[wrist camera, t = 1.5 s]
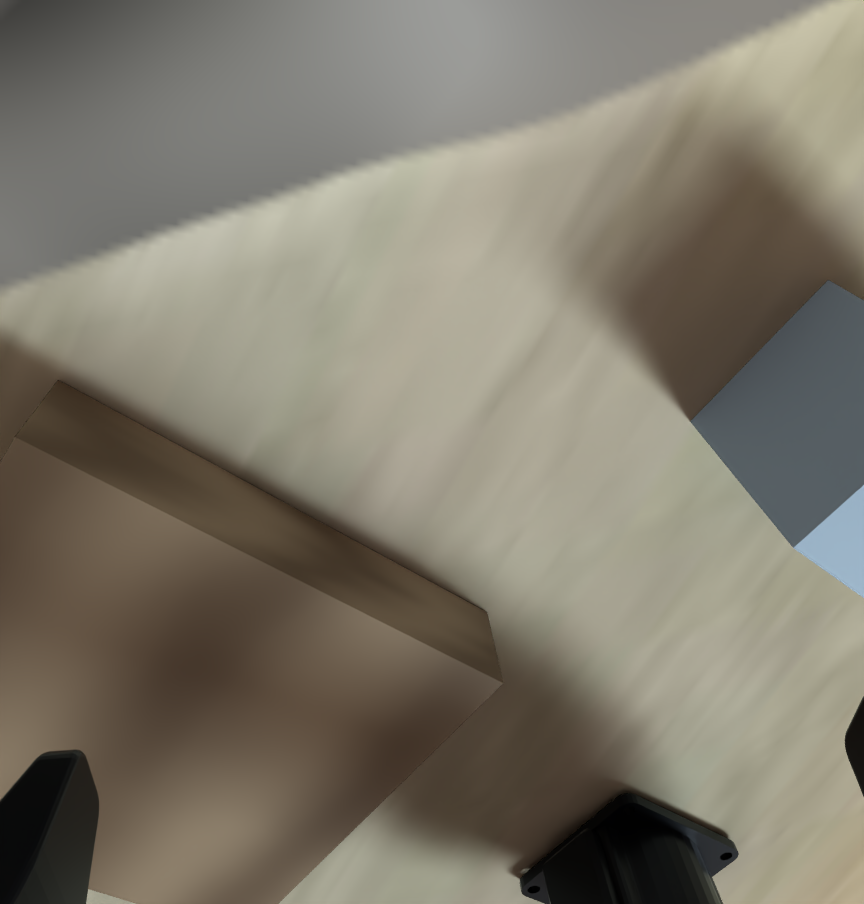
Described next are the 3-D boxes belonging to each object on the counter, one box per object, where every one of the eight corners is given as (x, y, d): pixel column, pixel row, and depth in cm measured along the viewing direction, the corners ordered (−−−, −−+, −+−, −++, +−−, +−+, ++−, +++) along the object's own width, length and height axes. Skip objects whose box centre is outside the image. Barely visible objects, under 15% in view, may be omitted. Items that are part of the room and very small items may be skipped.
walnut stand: (486, 612, 25) (503, 683, 22) (253, 854, 30) (244, 936, 27) (58, 380, 20) (15, 436, 17) (-140, 717, 25) (-197, 802, 22)
